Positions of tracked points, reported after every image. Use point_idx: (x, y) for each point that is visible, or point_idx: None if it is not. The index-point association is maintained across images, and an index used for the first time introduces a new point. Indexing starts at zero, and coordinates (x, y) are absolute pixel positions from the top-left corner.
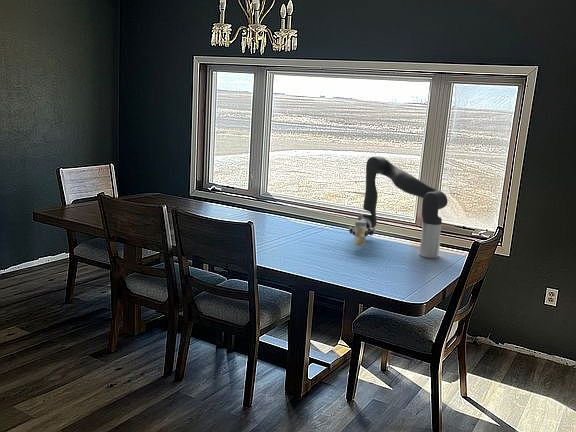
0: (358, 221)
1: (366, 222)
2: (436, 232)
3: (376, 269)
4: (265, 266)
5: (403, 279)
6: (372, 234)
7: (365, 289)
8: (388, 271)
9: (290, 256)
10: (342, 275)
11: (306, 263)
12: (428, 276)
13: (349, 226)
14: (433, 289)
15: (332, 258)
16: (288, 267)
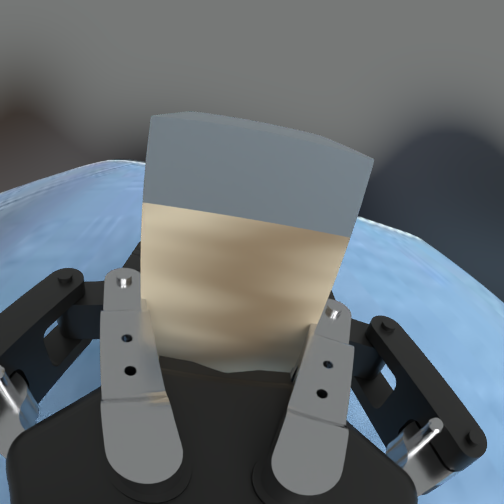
0: (299, 132)
1: (152, 146)
2: None
3: (140, 225)
4: (408, 234)
5: (91, 193)
6: (46, 343)
7: None
8: (106, 218)
9: (433, 283)
10: None
11: (361, 248)
12: (16, 205)
13: (483, 436)
14: (59, 176)
15: None
16: (373, 231)
